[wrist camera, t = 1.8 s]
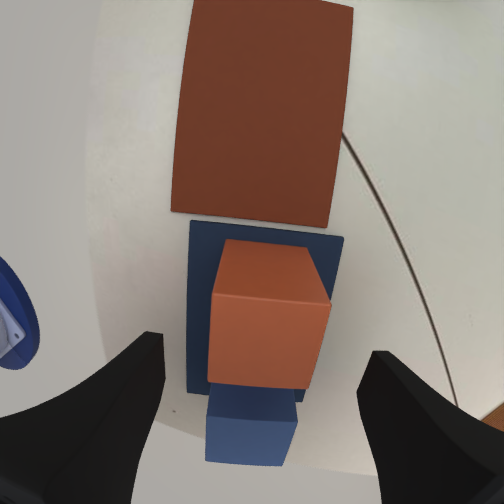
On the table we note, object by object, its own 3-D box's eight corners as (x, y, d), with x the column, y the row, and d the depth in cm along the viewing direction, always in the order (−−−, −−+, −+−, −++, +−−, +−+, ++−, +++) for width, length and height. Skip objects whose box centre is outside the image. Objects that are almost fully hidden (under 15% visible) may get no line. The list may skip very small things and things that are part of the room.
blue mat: (301, 399, 21) (302, 402, 21) (187, 389, 21) (186, 392, 20) (343, 236, 17) (344, 238, 16) (191, 219, 16) (189, 221, 16)
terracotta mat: (325, 226, 17) (327, 228, 16) (171, 209, 16) (170, 211, 16) (352, 9, 12) (353, 7, 12) (197, -10, 12) (196, -12, 12)
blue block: (277, 394, 20) (282, 466, 15) (214, 389, 20) (205, 461, 15) (287, 346, 19) (298, 422, 13) (217, 340, 19) (206, 415, 13)
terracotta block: (294, 316, 18) (308, 390, 12) (219, 309, 18) (207, 382, 12) (307, 246, 17) (332, 304, 11) (225, 238, 16) (211, 293, 11)
